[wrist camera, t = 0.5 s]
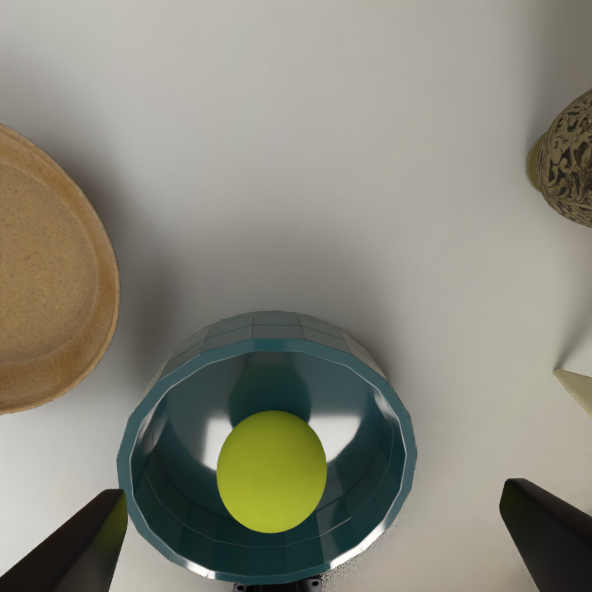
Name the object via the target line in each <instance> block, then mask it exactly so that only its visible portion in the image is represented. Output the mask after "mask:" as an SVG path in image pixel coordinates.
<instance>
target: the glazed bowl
mask: <svg viewBox="0 0 592 592" xmlns="http://www.w3.org/2000/svg"><path fill="white" fill-rule="evenodd" d="M270 410H276V411H284V412H288V413H291V414H293V415H296V416H297V417H299V418H301V419H302V420H304V421H305V422H306V423H307V424H308V425H309V426H310V427H311V428H312V429H313V430H314V431H315V433H316V434H317V436H318V437H319V439H320V441H321V443H322V446H323V449H324V452H325V455H326V462H327V478H326V484H325V488H324V491H323V494H322V497H321V499H320V501H319V503H318V505H317V506H316V508H315V509H314V510H313V512H312V513H311V514H310V515H309V516H308V517H307V518H306V519H305V520H304V521H303V522H301V523H300V524H299V525H297V526H295V527H293V528H291V529H289V530H286V531H282V532H278V533H263V532H258V531H254V530H252V529H249V528H247V527H246V526H244V525H242V524H241V523H239V522H238V521H237V520H236V519H235V518H234V517H233V516H232V515H231V514H230V512H229V511H228V510H227V508H226V507H225V505H224V503H223V501H222V499H221V496H220V493H219V489H218V485H217V462H218V458H219V454H220V451H221V448H222V446H223V444H224V442H225V440H226V438H227V436H228V435H229V434H230V432H231V431H232V430H233V429H234V428H235V427H236V426H237V425H238V424H239V423H240V422H241V421H243V420H244V419H246V418H247V417H249V416H251V415H253V414H256V413H259V412H263V411H270ZM416 459H417V448H416V442H415V437H414V432H413V427H412V422H411V417H410V415H409V412H408V411H407V409H406V408H405V406H404V405H403V403H402V402H401V400H400V398H399V397H398V395H397V394H396V392H395V391H394V389H393V388H392V386H391V384H390V383H389V381H388V380H387V378H386V377H385V375H384V374H383V372H382V371H381V369H380V368H379V367H378V365H377V363H376V362H375V360H374V359H373V357H372V356H371V355H370V353H369V352H368V351H367V350H366V349H365V348H364V347H362V346H361V345H360V344H359V343H358V342H357V341H356V340H355V339H354V338H353V337H351V336H350V335H348V334H347V333H345V332H344V331H343V330H341V329H339V328H337V327H335V326H334V325H332V324H330V323H328V322H326V321H323V320H320V319H317V318H314V317H311V316H308V315H303V314H298V313H294V312H283V311H260V312H252V313H246V314H240V315H237V316H233V317H230V318H227V319H223V320H221V321H219V322H216V323H214V324H212V325H209V326H207V327H205V328H204V329H202V330H200V331H199V332H197V333H195V334H194V335H192V336H191V337H190V338H188V339H187V340H186V341H185V342H183V343H182V344H181V345H180V346H178V347H177V348H176V350H174V351H173V353H172V354H171V355H170V356H169V357H168V358H167V359H166V361H165V362H164V363H163V365H162V366H161V368H160V369H159V370H158V372H157V373H156V374H155V376H154V377H153V378H152V380H151V381H150V383H149V384H148V386H147V388H146V389H145V391H144V393H143V395H142V396H141V398H140V400H139V401H138V403H137V405H136V406H135V408H134V410H133V411H132V413H131V415H130V417H129V419H128V422H127V425H126V429H125V432H124V435H123V438H122V442H121V445H120V448H119V452H118V455H117V459H116V461H117V471H118V481H119V489H123V490H125V493H126V501H127V512H128V514H129V516H130V518H131V520H132V522H133V524H134V525H135V527H136V529H137V531H138V533H140V535H141V536H142V537H143V538H144V539H146V540H147V541H148V542H149V543H150V544H151V545H152V546H153V547H154V548H155V549H157V550H158V551H159V552H160V553H161V554H162V555H163V556H164V557H165V558H167V559H168V560H169V561H171V562H173V563H175V564H177V565H180V566H182V567H184V568H186V569H188V570H190V571H192V572H194V573H197V574H199V575H201V576H203V577H206V578H210V579H215V580H221V581H226V582H232V583H237V584H243V585H265V584H283V583H290V582H294V581H297V580H301V579H304V578H308V577H311V576H314V575H318V574H321V573H325V572H328V570H329V571H330V570H332V569H333V568H335V567H337V566H339V565H340V564H342V563H344V562H346V561H347V560H349V559H351V558H353V557H354V556H356V555H358V554H360V553H361V552H363V551H364V550H366V549H367V548H368V547H369V546H370V545H371V544H372V543H373V542H374V541H375V540H376V539H377V538H378V537H379V536H380V535H381V534H382V533H383V532H384V531H385V530H386V529H387V528H388V527H389V526H390V525H391V524H392V523H393V521H394V520H395V518H396V516H397V514H398V512H399V511H400V509H401V507H402V505H403V503H404V502H405V500H406V498H407V496H408V494H409V493H410V490H411V487H412V482H413V476H414V470H415V465H416Z"/></svg>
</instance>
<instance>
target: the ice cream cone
mask: <svg viewBox="0 0 592 592" xmlns="http://www.w3.org/2000/svg"><path fill="white" fill-rule="evenodd" d="M553 374H554V375H555V377H556V378H557V379H558V380H559V381H560V382H561V384H562V385H563V386H564V387H565V388H566V390H567V391H568V392H569V393H570V394H571V395H572V397H573V398H574V399H575V400H576V401H577V403H578V404H579V405H580V406H581V407H582V408H583V410H584V411H585V412H586V413H587V414H588V415H589V417H590V418H591V419H592V377H588V376H584V375H580V374H576V373H573V372H569V371H565V370H561V369H555V370H554V371H553Z"/></svg>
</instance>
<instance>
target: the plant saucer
mask: <svg viewBox="0 0 592 592" xmlns="http://www.w3.org/2000/svg"><path fill="white" fill-rule="evenodd" d="M119 309H120V278H119V269H118V264H117V261H116V257H115V254H114V250H113V247H112V244H111V241H110V239H109V236H108V233H107V231H106V229H105V227H104V225H103V223H102V221H101V219H100V217H99V215H98V214H97V212H96V210H95V209H94V207H93V206H92V204H91V203H90V201H89V199H88V198H87V197H86V195H85V194H84V192H83V191H82V190H81V189H80V187H79V186H78V185H77V184H76V182H75V181H74V180H73V179H72V178H71V177H70V176H69V175H68V174H67V173H66V171H65V170H64V169H63V168H62V167H61V166H60V165H59V164H58V163H57V162H56V161H54V160H53V159H52V158H51V157H50V156H49V155H48V154H46V153H45V152H44V151H42V150H41V149H40V148H39V147H37V146H36V145H35V144H33V143H32V142H31V141H29V140H28V139H26V138H25V137H23V136H22V135H20V134H19V133H17V132H15V131H14V130H12V129H10V128H9V127H7V126H5V125H3V124H1V123H0V415H2V414H8V413H15V412H20V411H25V410H29V409H32V408H35V407H38V406H41V405H43V404H45V403H48V402H51V401H53V400H54V399H56V398H58V397H60V396H62V395H64V394H65V393H67V392H68V391H70V390H71V389H73V388H74V387H76V386H77V385H78V384H79V383H80V382H81V381H83V380H84V379H85V378H86V377H87V376H88V375H89V374H90V373H91V371H92V370H93V369H94V368H95V367H96V365H97V364H98V363H99V362H100V360H101V359H102V357H103V355H104V354H105V352H106V350H107V348H108V346H109V344H110V342H111V340H112V338H113V335H114V332H115V329H116V326H117V322H118V316H119Z"/></svg>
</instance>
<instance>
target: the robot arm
mask: <svg viewBox="0 0 592 592" xmlns="http://www.w3.org/2000/svg"><path fill="white" fill-rule="evenodd" d="M499 509H500V514H501V516H502V519H503V521H504V523H505V525H506V527H507V529H508V531H509V533H510V535H511V537H512V539H513V541H514V543H515V545H516V547H517V549H518V551H519V553H520V555H521V557H522V559H523V561H524V563H525V565H526V567H527V569H528V570H529V572H530V574H531V576H532V578H533V580H534V582H535V584H536V586H537V588H538V589H539V591H540V592H592V517H591V516H589V515H587V514H586V513H584V512H582V511H581V510H579V509H577V508H575V507H574V506H572V505H570V504H568V503H567V502H565V501H563V500H561V499H560V498H558V497H556V496H554V495H553V494H551V493H549V492H547V491H546V490H544V489H542V488H540V487H539V486H537V485H535V484H533V483H532V482H530V481H528V480H526V479H523V478H511V479H507V480H506V482H505V484H504V488H503V492H502V496H501V500H500V505H499ZM127 524H128V514H127V501H126V493H125V490H123V489H106V490H104V491H102V492H101V493H100V494H98V495H97V496H96V497H95V498H94V499H93V500H91V501H90V502H89V503H88V504H87V505H85V506H84V507H83V508H82V509H81V510H80V511H78V512H77V513H76V514H75V515H74V516H72V517H71V518H70V519H69V520H68V521H66V522H65V523H64V524H63V525H62V526H61V527H59V528H58V529H57V530H56V531H55V532H53V533H52V534H51V535H50V536H49V537H48V538H46V539H45V540H44V541H43V542H42V543H40V544H39V545H38V546H37V547H36V548H34V549H33V550H32V551H31V552H30V553H29V554H27V555H26V556H25V557H24V558H23V559H21V560H20V561H19V562H18V563H17V564H16V565H14V566H13V567H12V568H11V569H10V570H8V571H7V572H6V573H5V574H4V575H2V576H1V577H0V592H109V588H110V585H111V581H112V578H113V575H114V571H115V568H116V564H117V561H118V557H119V554H120V551H121V547H122V544H123V540H124V537H125V533H126V530H127ZM321 587H322V581H321V576H320V574H318V575H314V576H311V577H308V578H304V579H301V580H297V581H294V582H290V583H283V584H265V585H243V584H237V583H234V592H321Z"/></svg>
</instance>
